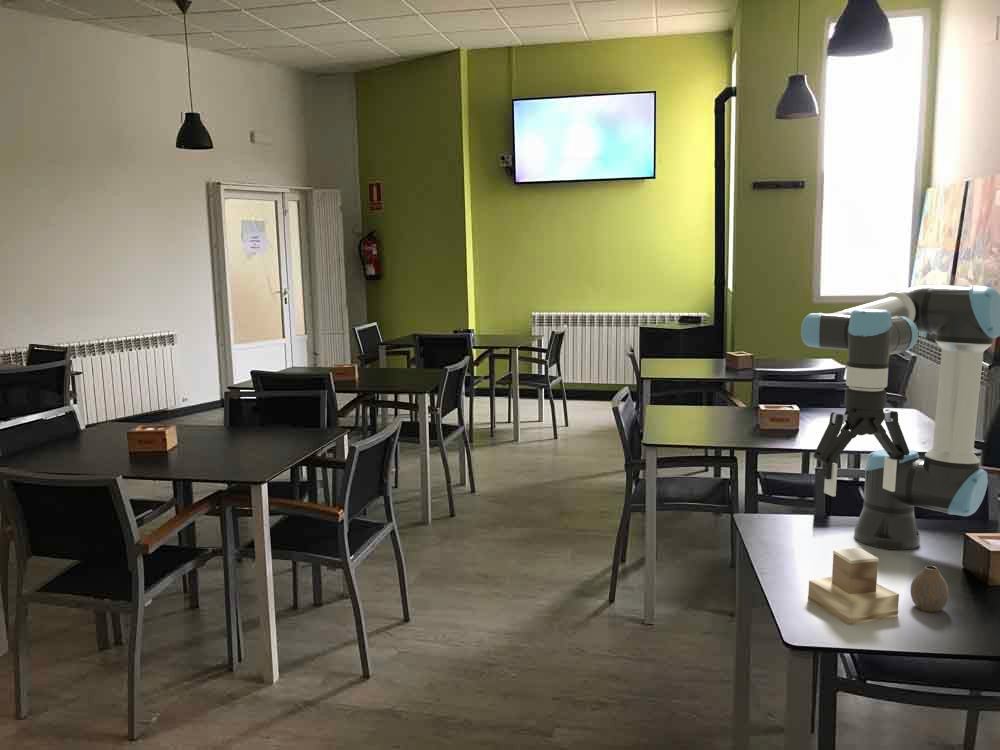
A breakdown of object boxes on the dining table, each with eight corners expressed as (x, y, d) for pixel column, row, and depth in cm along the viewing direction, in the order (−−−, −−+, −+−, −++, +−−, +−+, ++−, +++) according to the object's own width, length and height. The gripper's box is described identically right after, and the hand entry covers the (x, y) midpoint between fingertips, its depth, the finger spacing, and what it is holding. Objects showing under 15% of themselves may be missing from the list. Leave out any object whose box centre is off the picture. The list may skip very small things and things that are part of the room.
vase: (927, 617, 167) (930, 575, 166) (901, 603, 173) (904, 563, 172) (955, 613, 169) (958, 571, 168) (928, 599, 175) (931, 559, 174)
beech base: (853, 595, 179) (855, 572, 178) (897, 618, 167) (899, 594, 167) (807, 603, 175) (808, 580, 174) (849, 627, 163) (851, 602, 163)
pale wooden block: (858, 580, 174) (859, 547, 173) (876, 591, 168) (878, 558, 167) (831, 582, 173) (833, 550, 172) (848, 594, 167) (850, 560, 166)
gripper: (906, 382, 171) (899, 483, 174) (798, 387, 165) (793, 491, 168) (933, 388, 164) (925, 492, 167) (821, 393, 158) (815, 501, 161)
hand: (859, 492), depth 167 cm, fingers open, 13 cm apart
